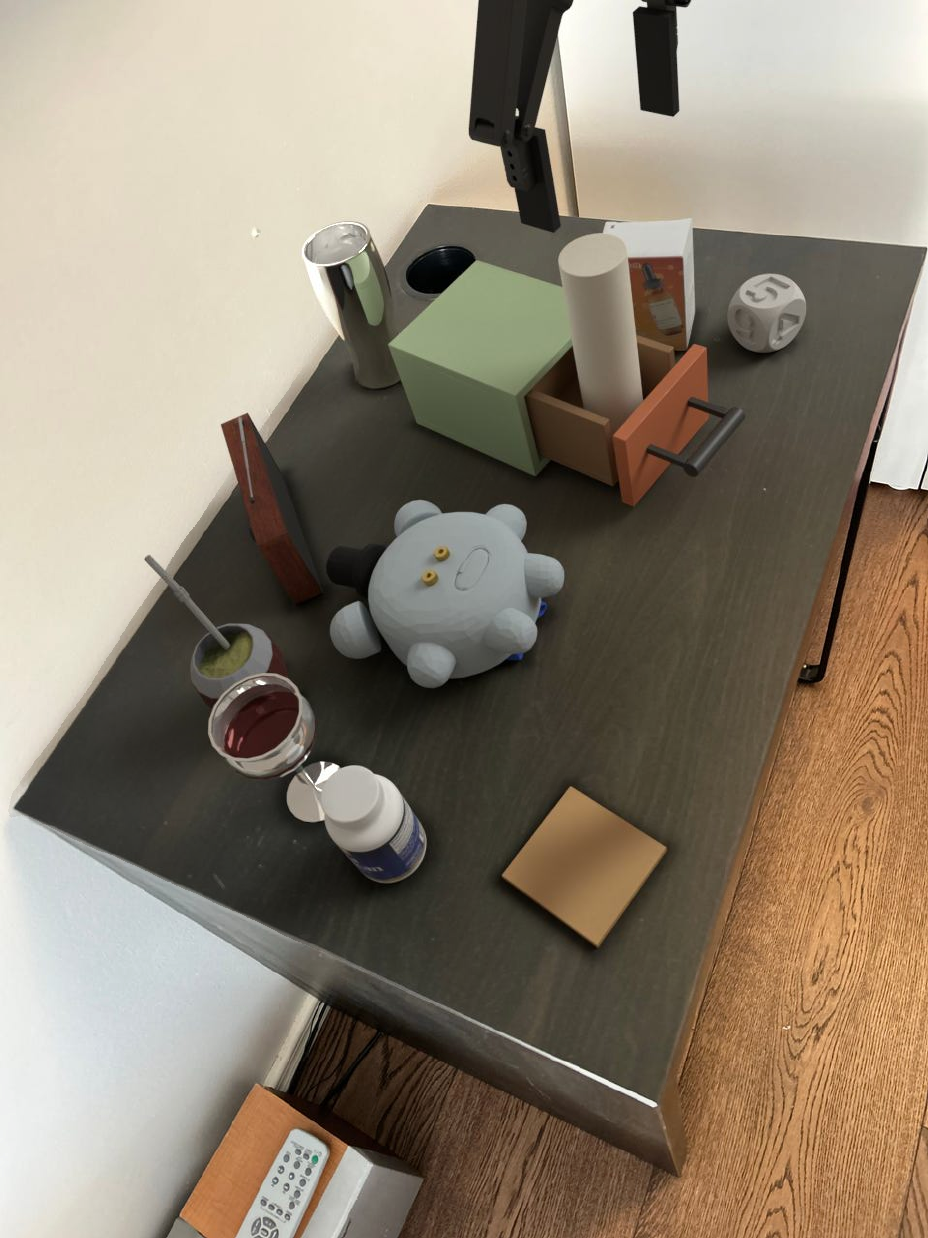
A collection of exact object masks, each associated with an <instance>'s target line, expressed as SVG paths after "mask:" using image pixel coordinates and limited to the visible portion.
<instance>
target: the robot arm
mask: <svg viewBox="0 0 928 1238" xmlns="http://www.w3.org/2000/svg"><path fill="white" fill-rule="evenodd" d="M640 1H641V2H642V3H646V6H638V7H637V8H635V10H633V12H632V22H633V34H634V48H635V59H636V70H637V84H638V96H639V108H640V109H639V110H640V111H642V112H648V113H652V114H657V115H661V116H667V117H673V118H674V117H675V116H676V115H677V114H678V113H679V112H680V94H679V92H680V91H679V72H678V68H679V67H678V44H679V35H678V12H677V8H688V7H689V6H690V5H691V2H692V0H640ZM573 4H574V0H478V2H477V15H476V25H475V38H474V39H475V41H474V53H473V64H472V65H473V66H472V79H471V93H470V103H469V105H470V106H469V118H468V136H469V139H470V140H472V141H474V142H478V143H481V144H486V145H490V146H494V147H499V148H500V153H501V159H502V163H503V166H504V167H503V168H504V172H505V178H506V182H507V184H508V185H509V186H510V188H513V189H514V193H515V199H516V203H517V209H518V214H519V218H520V223H521V224H523V225H526V226H529V227H532V228H535V229H539V230H542V231H545V232H549V233H553V234H555V232H556V231H558V230H559V229H560V228H561V227H562V224H561V219H560V212H559V206H558V200H557V194H556V186H555V182H554V175H553V169H552V163H551V158H550V150H549V144H548V138H547V133H546V129H545V128H540V127H536V125H537V120H538V117H539V112H540V108H541V106H542V105H541V104H542V100H543V96H544V93H545V88H546V84H547V79H548V75H549V71H550V68H551V64H552V59H553V55H554V52H555V48H556V44H557V41H558V35H559V31H560V26H561V23H562V19H563V17H564V16H563V15H564V14H565V13H566V12H567V11H569V10H570V9H571V8H572V6H573ZM517 111H518V114H517Z"/></svg>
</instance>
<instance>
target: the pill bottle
mask: <svg viewBox="0 0 928 1238" xmlns="http://www.w3.org/2000/svg"><path fill="white" fill-rule="evenodd" d="M340 768H341V769H339V770H337V771H336V772H334V773H333V774H332V775H331V776H330V777H329V778H328V779H327V780H326V782H325V784H324V785H323V788H322V791H321V795H320V803H321V807H322V810H323V812H324V813H325V814H324V819H325V820H324V825H325V829H326V831H327V833H328V835H329V837H330V838H331V839H332V841H333V842H334V843H335V844H336V846H337V847H338V848H339V850H341V851H342V853H344V854H345V856H346V857H347V858H348V859H349V860H350V862H352V863H353V865H354V866H355V867H356V868H357V869H358V870H359V871H360V873H362V874H363V876H365V877H366V878H368V879H370V880H371V881H374V882H377V883H380V884H393V883H397V882H401V881H403V880H404V879H407V878H408V877H410V876H411V875H413V874H414V872H416V870H417V869H418V868H419V867H420V865H421V863H422V862H423V860H424V858H425V855H426V850H427V835H426V831H425V829H424V826H423V825H422V823H421V822H420V819H418V817H417V815H416V814H415V813H414V811H413V809H412V808H411V806H410V805H409V804H408V802H407V800H406V799H405V797H404V796H403V795H402V793H401V791H400V790H399V789H398V787H397V786H396V785H395V784H394V783H393V782H392V781H391V780H390V779H388V778H387V777H385V776H383V775H380V774H376V773H373V771H372V770H370V769H369V768H367V767H365V766H362V765H356V764H355V765H346V766H344V767H340Z"/></svg>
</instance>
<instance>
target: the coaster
mask: <svg viewBox="0 0 928 1238" xmlns="http://www.w3.org/2000/svg"><path fill="white" fill-rule="evenodd" d="M667 851H668V849H667V846H665V845H664V844H662V843H660V842H659V841H658V840H656V839H654V838H653V837H651V836H650V835H648V834H646V833H645V832H643V831H642V830H640V829H638V828H637V827H635V826H634V825H632V824H631V823H630V822H628V821H626V820H625V819H623V818H621V817H620V816H618V815H617V814H615V813H614V812H612V811H610V810H608V809H607V808H606V807H604V806H602V805H601V804H600V803H597V802H596V801H595V800H593V799H592V798H590V797H589V796H587V795H585V794H584V793H582V792H581V791H579V790H577V789H576V788H574V786H571V785H570V786H569V787H568V788H567V790H566V791H565V792H564V794H563V795H562V796H561V797H560V799H559V800H558V801H557V803H556V804H555V805H554V806H553V808H552V809H551V810H550V812H549V813H548V814H547V816H546V817H545V818H544V820H542V822H541V824H540V825H539V826H538V828H537V829H536V830H535V831H534V833H533V834H532V835H531V836H530V838H529V839H528V841H526V843H525V844H524V846H523V847H522V848H521V850H519V851H518V853H517V855H516V856H515V857H514V858H513V860H512V861H511V863H510V864H509V865H508V867H506V869H505V870H504V872H503V873H502V874H501V877H502V879H503V880H505V881H506V882H507V883H509V884H510V885H511V886H513V887H514V888H515V889H517V890H518V891H520V892H521V893H522V894H524V895H525V896H526V897H528V898H529V899H530V900H531V901H533V902H534V903H536V904H537V905H538V906H540V907H541V908H543V909H544V910H545V911H546V912H548V913H550V914H551V915H552V916H553V917H555V918H556V919H558V920H559V921H560V922H561V923H563V924H564V925H566V926H567V927H568V928H569V929H571V930H573V931H574V932H575V933H577V934H578V935H579V936H580V937H582V938H583V939H585V940H586V941H588V942H589V943H590V944H592V945H593V946H595V947H596V948H600V946H601V944H602V943H603V942H604V940H605V939H606V938H607V936H608V935H609V933H610V932H611V930H612V929H613V928H614V926H615V925H616V923H617V922H618V920H619V919H620V918H621V916H622V915H623V914H624V912H625V911H626V909H627V908H628V906H629V905H630V903H631V902H632V901H633V899H634V898H635V897H636V896H637V894H638V892H639V891H640V889H641V888H642V887H643V886H644V884H645V882H646V881H647V880H648V878H649V877H650V875H651V874H652V873H653V871H654V870H655V868H656V867H657V866H658V864H659V863H660V861H661V860H662V859H663V857H664V855H666V853H667Z"/></svg>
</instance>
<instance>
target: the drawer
mask: <svg viewBox="0 0 928 1238" xmlns="http://www.w3.org/2000/svg"><path fill="white" fill-rule="evenodd" d="M636 340H637V349H638V358H639V368H640V377H641V386H642V396H643V402H642V403H641V404H640V405H639V407H638V408H637V409H636V410H635V411H634V412H633V413H632V415H631V416H630V417H629V418H628V419H627V420H626V421H625V422H624V424H623V425H622V426H621V427H620V428H619V429H618V430H617V431H616V433H615V434H614V435H613V442H614V449H615V451H614V449H613V442H612V435H611V428H610V422H609V419H607V418H604V417H602V416H599V415H597V414H594V413H592V412H589V411H587V410H584V407H583V401H582V396H581V390H580V384H579V378H578V373H577V367H576V361H575V355H574V350H573V346H572V347H571V348H570V349H569V350H568V351H567V352H566V353H565V354H564V355H563V356H562V357H561V358H560V359H559V360H558V361H557V362H556V364H555V365H554V366H553V367H552V368H551V369H550V370H549V371H548V372H547V373H546V374H545V375H544V376H543V377H542V378H541V379H540V380H539V381H538V382H537V384H536V385H535V386H534V387H533V388H532V389H531V390H530V391H529V392H528V393H527V394H526V395H525V396H524V399H525V404H526V408H527V412H528V416H529V420H530V425H531V429H532V433H533V437H534V441H535V446H536V450H537V454H539V455H541V456H544V457H546V458H548V459H551V460H550V461H553V462H555V463H558V464H560V465H562V466H565V467H567V468H569V469H571V470H574V471H576V472H578V473H581V474H583V475H586V476H588V477H590V478H593V479H594V480H596V481H599V482H601V483H604V484H606V485H609V486H610V487H614V486H615V485H616V484H617V483H619V489H620V496H621V502H622V503H624V504H626V505H628V506H631V507H636V505H637V504H638V502H639V501H640V500H641V499H642V498H643V497H644V496H645V494H646V493H647V492H648V491H649V490H650V488H651V487H652V486H653V485H654V484H655V482H657V480H658V479H659V478H660V477H661V476H662V474H663V473H664V472H665V470H667V468H668V467H669V466H670V465H671V464H672V465H676V466H679V467H680V468H682V469H683V471H684V473H685V474H686V475H688V476H689V477H692V478H696V477H698V476H699V475H700V474H701V472H702V471H703V470H704V469H705V468H706V467H707V465H708V464H709V463H710V462H711V460H712V459H713V458H714V456H716V454H717V453H718V452H719V450H721V448H722V447H723V446H724V445H725V443H726V442H727V441H728V440H729V438H730V437H732V435H733V433H734V432H735V431H736V430H737V429H738V428H739V426H740V425H741V424H742V423H743V421H745V419H746V414H745V412H744V410H743V409H741V408H740V407H738V406H732V407H731V408H730V409H728V408H725V407H722V406H720V405H717V404H714V403H712V402H709V383H708V382H709V381H708V379H709V378H708V354H707V352H708V350H707V349H708V348H707V347H705V346H703V345H699V344H696V343H693V344H692V345H691V347H690V348H689V349H687V350H686V352H685V354H684V355H682V357H681V358H680V359H679V360H678V361H677V362H675V361H676V360H675V350H674V347H671V346H668V345H665V344H662V343H659V342H656V341H653V340H650V339H647V338H644V337H641V336H638V335H636ZM710 415H712V416H714V417H716V418H717V417H718V418H721V419H720V420H719V421H718V423H717V424H716V426H714V428H713V429H712V430H711V431H710V432H709V434H708V435H706V437H705V438H704V439H703V441H702V442H701V443H700V444H699V445H698V447H697V448H696V449H695V450H694V452H692V454H691V455H690V456H689V457H685V456H682V455H680V453H681V452H682V451H683V450H684V448H685V447H686V446H687V444H688V443H689V442H690V441H691V440H692V439H693V437H694V436H695V435H696V434H698V432H699V430H700V429H701V428H702V427H703V426H704V425H705V423H706V422H707V421H708V420H709V418H710Z"/></svg>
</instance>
